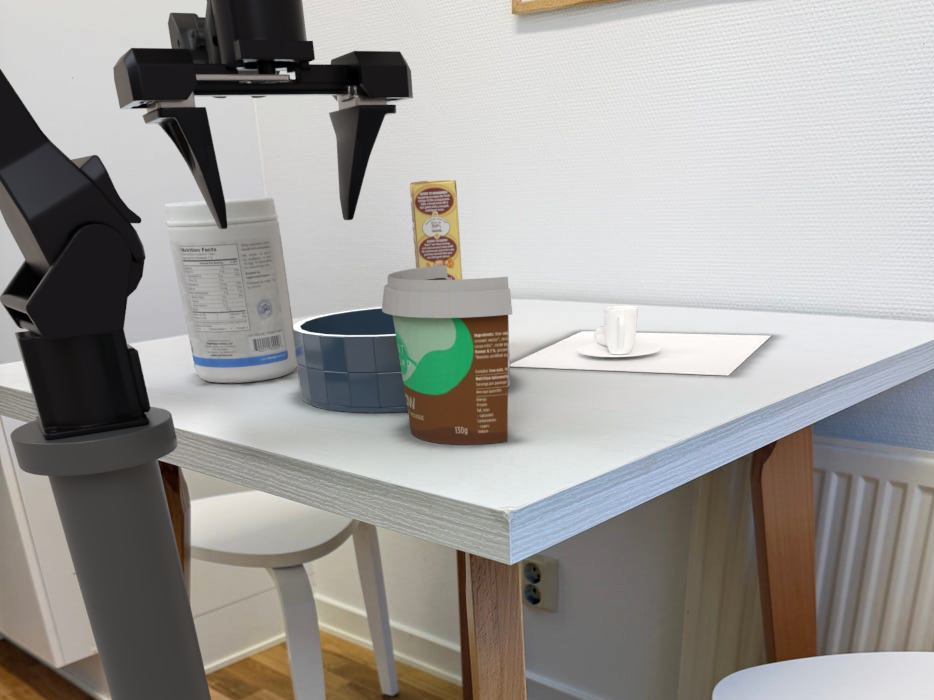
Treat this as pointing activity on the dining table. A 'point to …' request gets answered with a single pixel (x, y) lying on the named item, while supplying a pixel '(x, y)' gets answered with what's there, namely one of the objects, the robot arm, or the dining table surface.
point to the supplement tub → (233, 289)
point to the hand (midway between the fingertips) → (287, 224)
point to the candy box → (436, 225)
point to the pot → (351, 362)
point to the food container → (452, 353)
